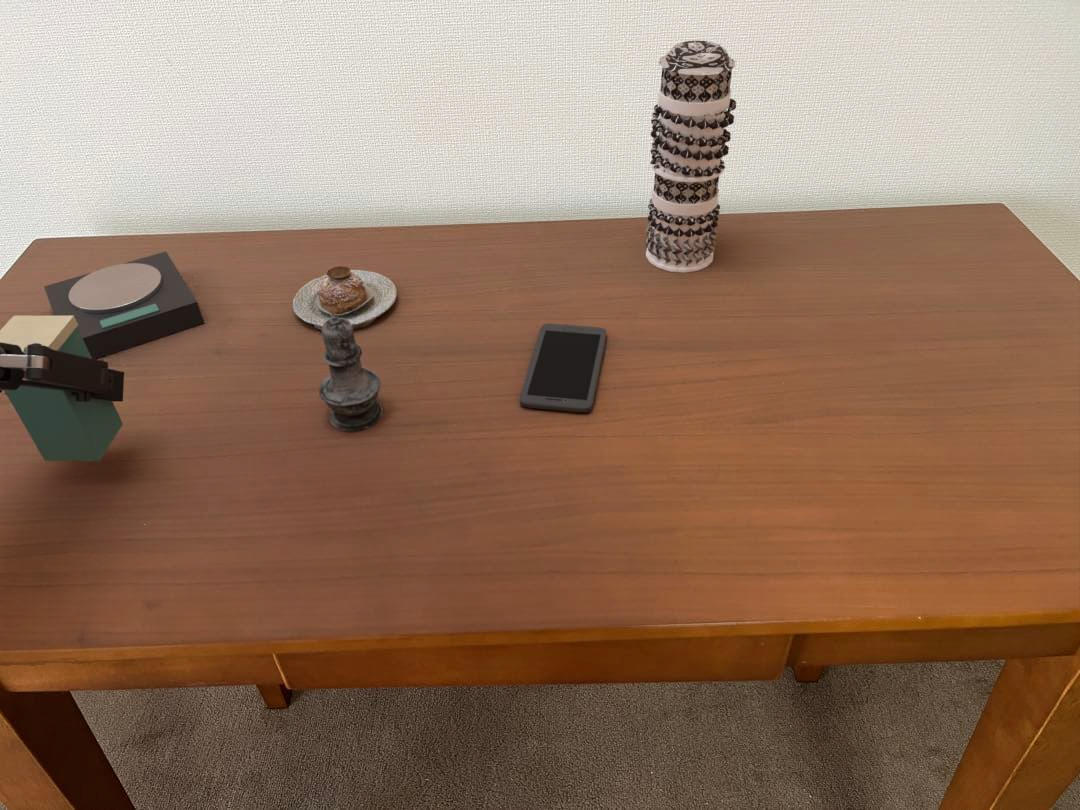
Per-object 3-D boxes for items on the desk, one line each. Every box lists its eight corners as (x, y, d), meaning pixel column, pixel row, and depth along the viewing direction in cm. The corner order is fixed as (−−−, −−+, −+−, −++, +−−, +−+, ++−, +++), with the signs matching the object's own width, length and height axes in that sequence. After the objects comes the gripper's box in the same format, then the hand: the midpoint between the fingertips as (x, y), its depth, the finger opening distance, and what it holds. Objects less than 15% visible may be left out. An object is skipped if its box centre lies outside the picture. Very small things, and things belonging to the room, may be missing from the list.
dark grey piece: (333, 440, 78) (306, 338, 71) (320, 404, 82) (294, 304, 75) (393, 423, 80) (373, 321, 72) (377, 388, 84) (357, 289, 76)
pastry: (276, 303, 97) (267, 270, 94) (363, 267, 103) (357, 234, 100) (327, 347, 90) (318, 312, 87) (417, 305, 96) (412, 271, 93)
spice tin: (100, 462, 73) (43, 352, 65) (43, 461, 73) (-21, 352, 65) (124, 423, 76) (73, 315, 69) (70, 423, 77) (13, 315, 69)
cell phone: (607, 332, 90) (607, 327, 90) (591, 414, 80) (591, 408, 79) (542, 327, 91) (541, 322, 91) (517, 407, 81) (517, 401, 81)
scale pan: (79, 324, 89) (76, 319, 89) (63, 284, 96) (61, 280, 96) (172, 295, 93) (170, 290, 93) (151, 258, 100) (149, 254, 100)
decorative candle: (722, 273, 99) (751, 60, 83) (646, 275, 100) (660, 62, 83) (711, 236, 106) (735, 33, 90) (639, 238, 107) (651, 35, 90)
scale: (75, 366, 89) (63, 342, 87) (54, 307, 98) (43, 284, 96) (204, 323, 94) (196, 299, 92) (173, 271, 103) (165, 249, 101)
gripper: (-268, 407, 52) (-9, 427, 75) (8, 407, 51) (183, 427, 75) (-258, 290, 53) (-4, 346, 76) (15, 289, 52) (187, 346, 75)
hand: (88, 386), depth 75 cm, fingers closed on spice tin, 5 cm apart
